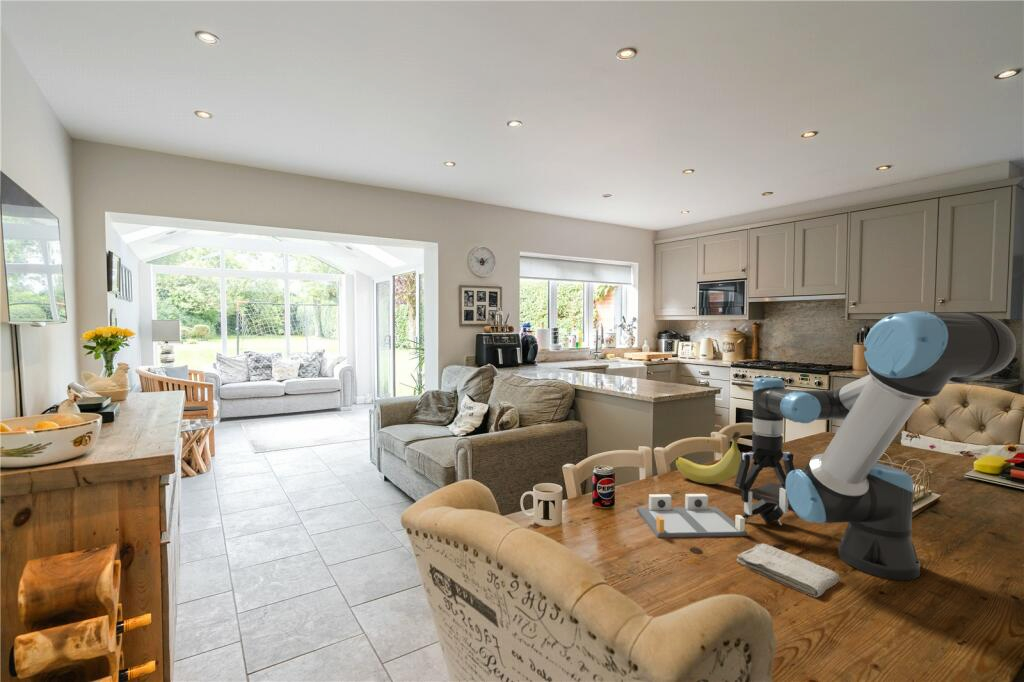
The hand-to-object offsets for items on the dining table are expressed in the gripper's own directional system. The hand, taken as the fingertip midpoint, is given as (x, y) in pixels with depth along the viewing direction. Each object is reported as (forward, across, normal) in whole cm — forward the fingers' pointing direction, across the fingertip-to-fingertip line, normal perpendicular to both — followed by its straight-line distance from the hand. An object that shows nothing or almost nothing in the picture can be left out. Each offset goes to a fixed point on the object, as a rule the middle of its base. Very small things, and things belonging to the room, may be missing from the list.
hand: (765, 512), depth 132 cm
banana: (+3, +1, -33) cm, 33 cm away
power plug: (+3, +1, -1) cm, 4 cm away
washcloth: (+4, +10, +25) cm, 27 cm away
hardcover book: (+4, -19, -15) cm, 24 cm away
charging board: (+3, +21, -1) cm, 22 cm away
